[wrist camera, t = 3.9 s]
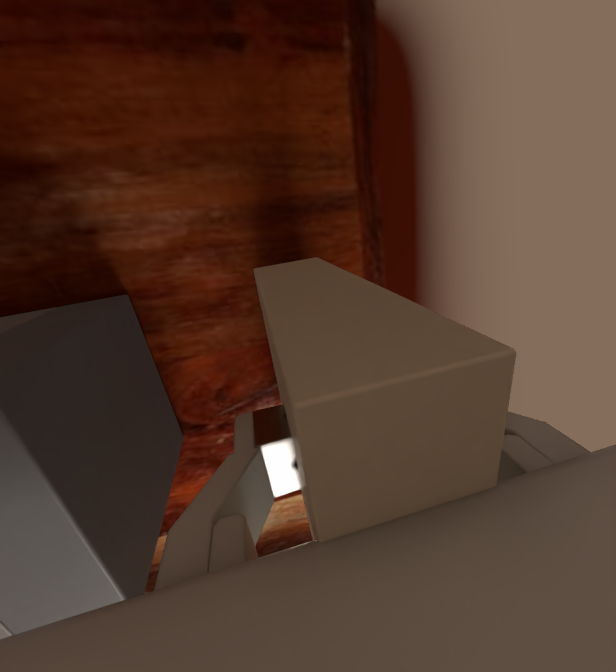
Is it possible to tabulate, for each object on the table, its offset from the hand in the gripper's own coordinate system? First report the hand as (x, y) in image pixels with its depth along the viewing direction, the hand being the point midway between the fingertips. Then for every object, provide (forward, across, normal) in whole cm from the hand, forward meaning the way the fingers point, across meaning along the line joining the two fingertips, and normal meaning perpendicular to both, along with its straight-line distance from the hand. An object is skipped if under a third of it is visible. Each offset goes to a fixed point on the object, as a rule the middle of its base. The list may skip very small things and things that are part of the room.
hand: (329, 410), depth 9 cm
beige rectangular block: (+5, 0, 0) cm, 5 cm away
